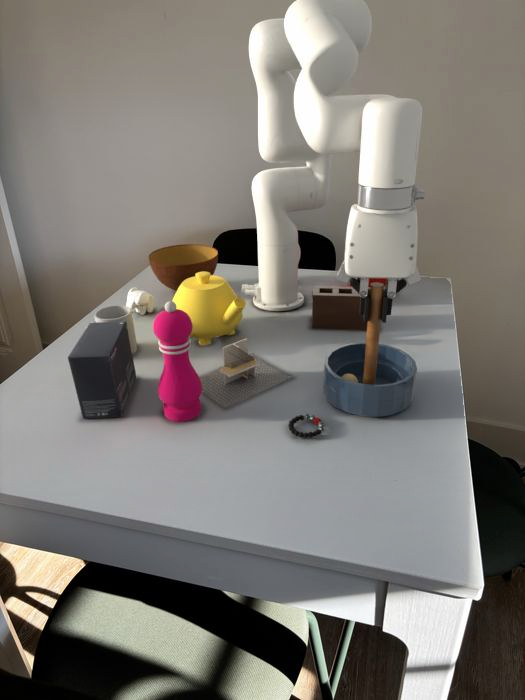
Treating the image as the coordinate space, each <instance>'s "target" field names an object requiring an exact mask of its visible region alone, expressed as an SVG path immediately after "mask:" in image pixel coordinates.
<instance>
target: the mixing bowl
mask: <svg viewBox="0 0 525 700" xmlns="http://www.w3.org/2000/svg"><path fill="white" fill-rule="evenodd" d="M365 349H366V341H365V342H364V341H363V342H362V341H361V342H352V343H346V344H343V345H339V346H337V347H334V349H331V350H329V351H328V353H327V354H326V356H325V357H324V364H323V365H324V367H323V371H324V372H323V395H324V396H325V398H326V400H327V402H329V403H330V404H332V405H333V406H334V407H335V408H337V409H339V410H341V411H344V412H346V413H348V414H353V415H356V416H361V417H375V418H379V417H386V416H387V417H388V416H393V415H395V414H398V413H400V412H403V411H404V410H406V409H407V408H408V407H409V406H411V404H412V401H413V399H414V397H415V395H414V394H415V390H416V389H415V388H416V381H417V373H418V372H417V371H418V366H417V363H416V360H415V359H414V358H413V357H412V356H411V355H410V354H409V353H408V352H405V351H403V350H402V349H400V348H397V347H394V346H392V345H389V344H384V343H379V348H378V358H377V369H376V380H375V385H372V384H363V375H364V362H365ZM345 374H353V375H354V376H355V377H356V378H357V380H358V383H357V382H352V381H349V380H347V379H344V378H342V376H343V375H345Z"/></svg>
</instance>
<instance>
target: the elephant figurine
mask: <svg viewBox="0 0 525 700" xmlns="http://www.w3.org/2000/svg"><path fill="white" fill-rule="evenodd" d="M154 296H156V293H154V295H152V294H151V293H148V292H147V291H145V290H143V289H138V288H137V287H136V286H133V287H131V288H130V290H129V291H128V293H127V298H126V304H125V306H128V307H129V308H131V311H132V314H133V313H134V312H136V313H139V314H140V315H142V316H143V315H145V314H146V313H153V312H154V308H155V297H154Z"/></svg>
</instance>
